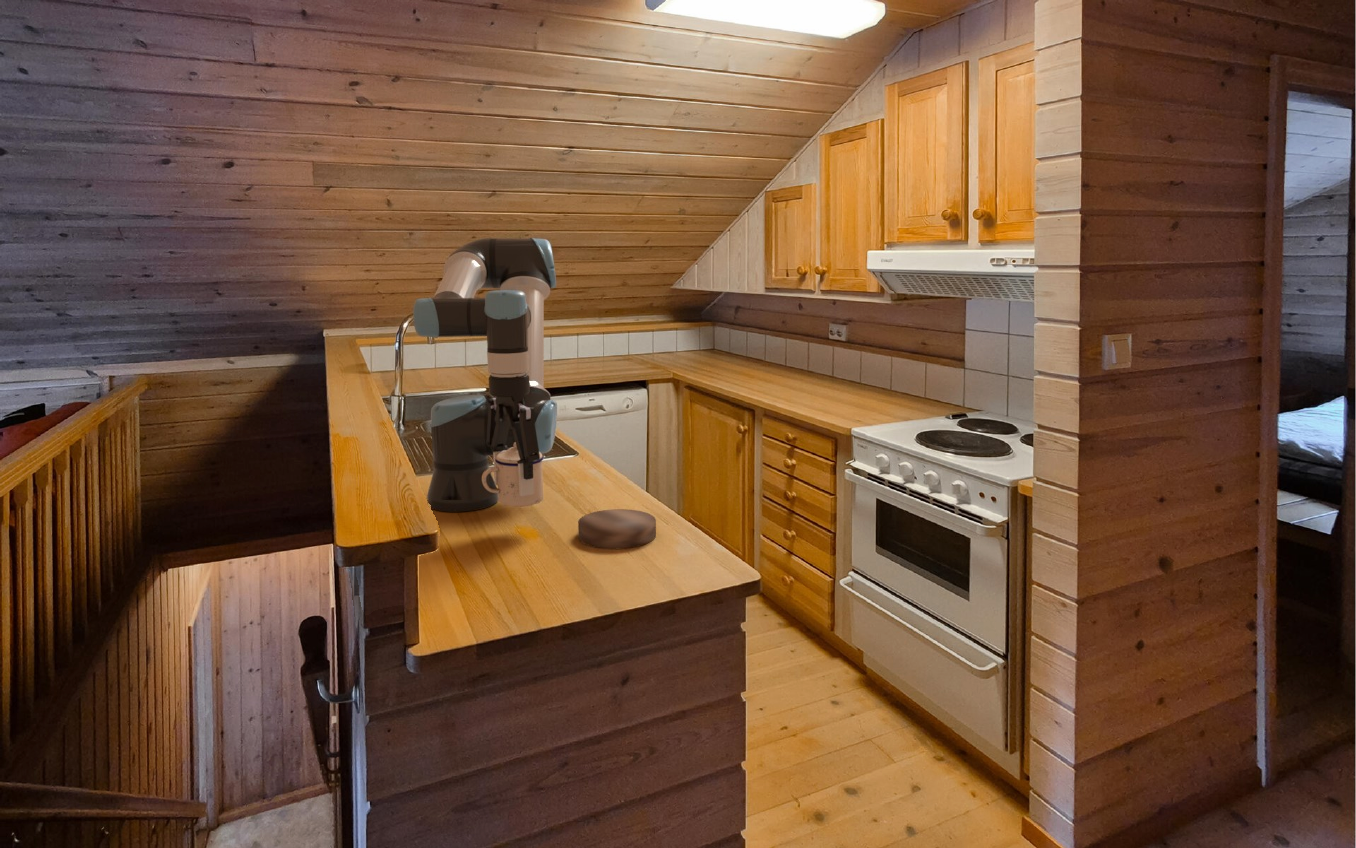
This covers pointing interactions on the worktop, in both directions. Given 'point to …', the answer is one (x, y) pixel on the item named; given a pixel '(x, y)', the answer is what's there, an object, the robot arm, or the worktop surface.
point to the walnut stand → (617, 528)
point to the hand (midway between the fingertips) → (513, 488)
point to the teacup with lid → (514, 479)
